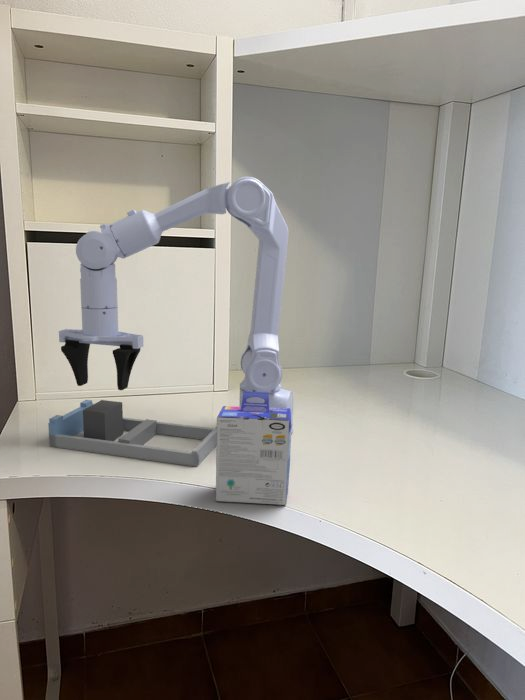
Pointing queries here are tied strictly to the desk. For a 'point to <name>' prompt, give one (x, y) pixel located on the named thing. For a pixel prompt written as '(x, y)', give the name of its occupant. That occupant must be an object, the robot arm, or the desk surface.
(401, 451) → the desk surface
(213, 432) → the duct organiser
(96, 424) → the dark grey block
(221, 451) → the ink cartridge box
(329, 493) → the desk surface
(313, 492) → the desk surface
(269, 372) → the robot arm
